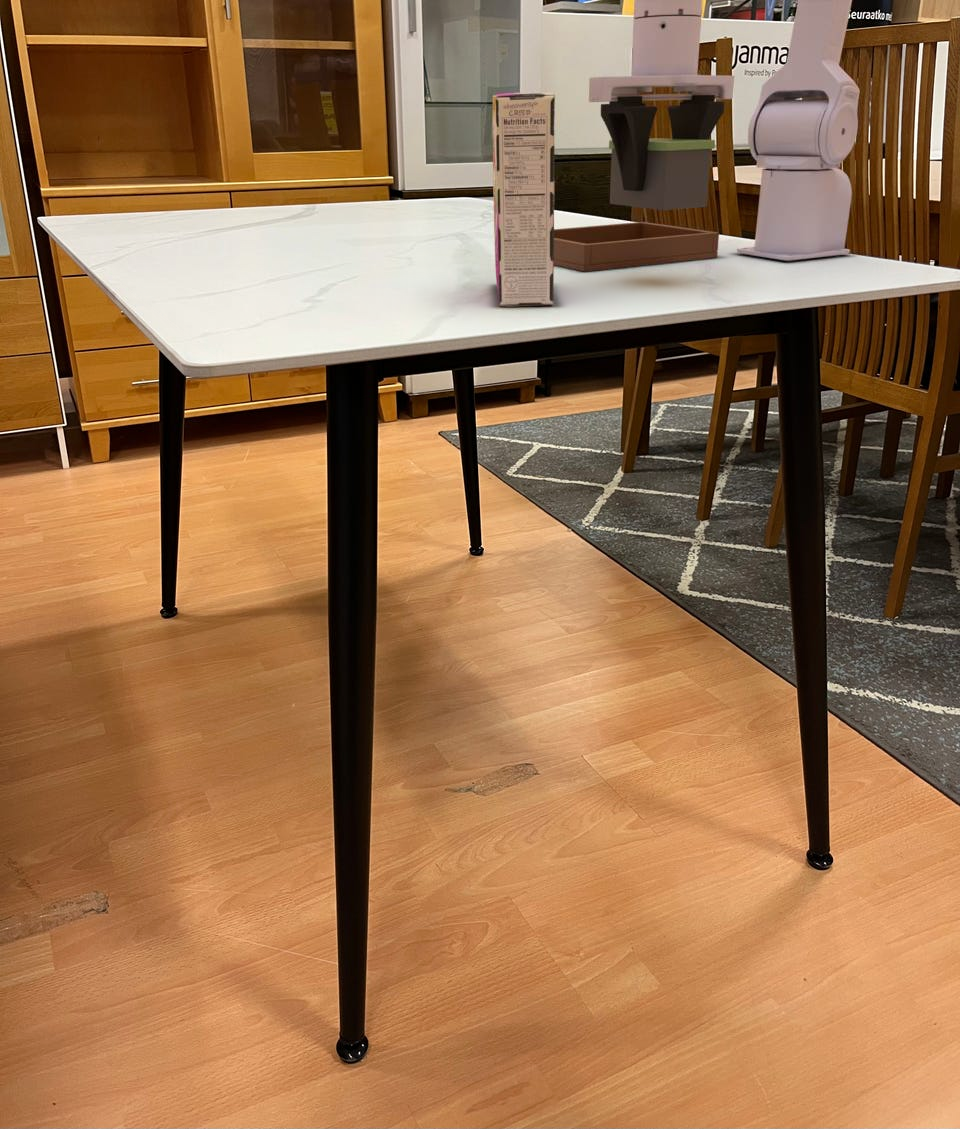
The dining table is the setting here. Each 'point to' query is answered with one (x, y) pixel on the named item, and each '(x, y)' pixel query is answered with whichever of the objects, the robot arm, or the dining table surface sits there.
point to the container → (667, 175)
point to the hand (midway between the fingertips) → (657, 188)
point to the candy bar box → (524, 197)
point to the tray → (630, 245)
